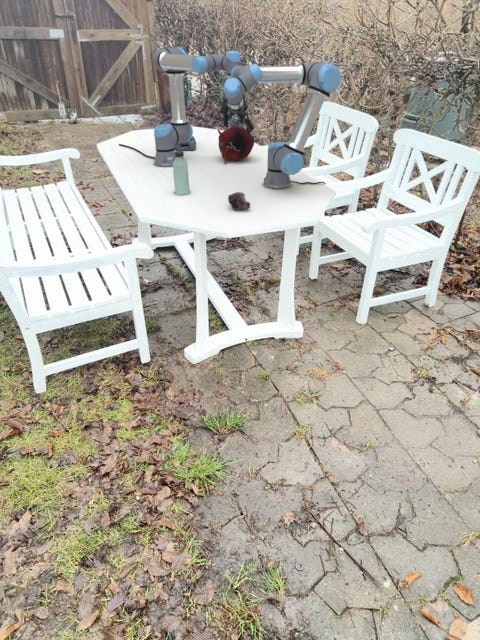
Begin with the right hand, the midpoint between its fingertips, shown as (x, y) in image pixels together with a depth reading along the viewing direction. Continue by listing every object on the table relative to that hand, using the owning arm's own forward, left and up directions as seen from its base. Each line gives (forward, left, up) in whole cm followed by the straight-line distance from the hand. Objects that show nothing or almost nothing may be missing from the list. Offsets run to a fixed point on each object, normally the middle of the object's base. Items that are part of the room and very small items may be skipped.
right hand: (241, 123), depth 240 cm
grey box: (+23, -90, -33) cm, 98 cm away
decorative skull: (-8, -53, -33) cm, 63 cm away
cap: (+35, +6, -11) cm, 37 cm away
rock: (+11, +38, -33) cm, 51 cm away
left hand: (0, -21, -5) cm, 21 cm away
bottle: (+35, +6, -33) cm, 48 cm away
